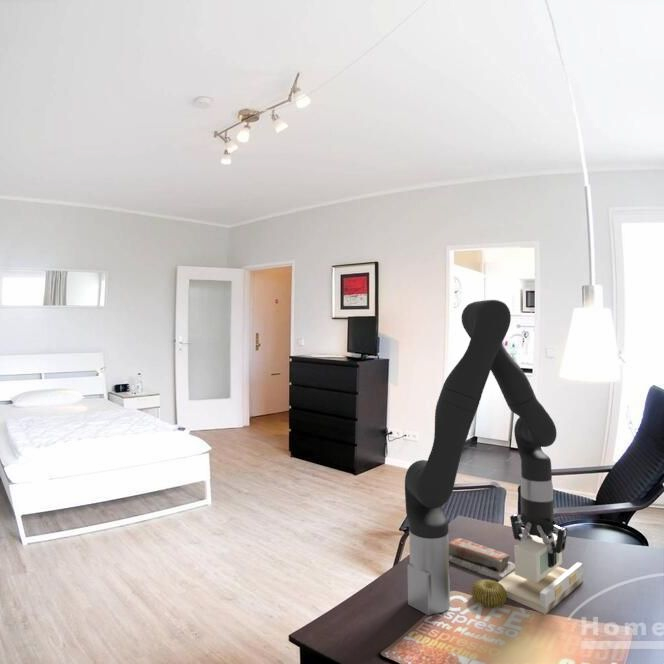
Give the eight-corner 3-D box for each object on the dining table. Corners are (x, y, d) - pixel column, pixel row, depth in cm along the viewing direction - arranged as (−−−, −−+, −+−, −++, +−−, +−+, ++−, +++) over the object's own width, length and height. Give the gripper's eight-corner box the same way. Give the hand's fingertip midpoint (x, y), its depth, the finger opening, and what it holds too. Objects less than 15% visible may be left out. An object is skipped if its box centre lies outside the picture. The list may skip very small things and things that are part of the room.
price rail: (546, 608, 106) (545, 594, 106) (540, 605, 107) (539, 592, 107) (583, 575, 120) (583, 563, 120) (578, 573, 121) (577, 561, 121)
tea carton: (562, 563, 121) (561, 536, 121) (537, 583, 111) (536, 553, 111) (541, 555, 125) (540, 529, 125) (515, 574, 116) (514, 546, 116)
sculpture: (467, 588, 111) (475, 573, 118) (468, 605, 111) (476, 589, 117) (503, 597, 107) (509, 580, 114) (503, 614, 107) (509, 597, 113)
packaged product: (441, 543, 133) (459, 533, 140) (442, 560, 133) (459, 549, 140) (502, 564, 121) (519, 551, 128) (503, 583, 120) (519, 569, 128)
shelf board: (545, 614, 106) (545, 607, 106) (493, 591, 116) (493, 585, 116) (583, 581, 120) (583, 575, 120) (533, 563, 130) (533, 557, 130)
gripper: (572, 498, 115) (574, 567, 115) (517, 485, 126) (519, 548, 126) (559, 506, 110) (561, 578, 110) (502, 492, 121) (504, 557, 121)
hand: (538, 561), depth 118 cm, fingers closed on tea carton, 5 cm apart
